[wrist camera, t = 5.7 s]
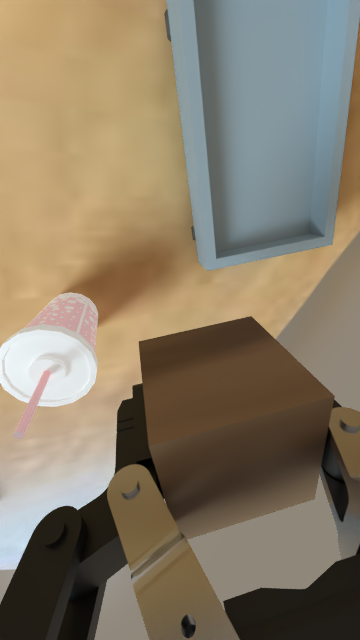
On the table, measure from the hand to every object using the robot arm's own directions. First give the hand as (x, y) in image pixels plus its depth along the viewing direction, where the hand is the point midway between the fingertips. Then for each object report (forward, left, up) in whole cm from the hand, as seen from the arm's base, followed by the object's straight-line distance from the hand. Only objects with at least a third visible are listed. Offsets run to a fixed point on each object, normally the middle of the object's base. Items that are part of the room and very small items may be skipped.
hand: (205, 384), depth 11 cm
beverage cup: (+1, -9, -15) cm, 18 cm away
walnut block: (0, 0, -1) cm, 1 cm away
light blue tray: (-11, +9, -15) cm, 21 cm away
